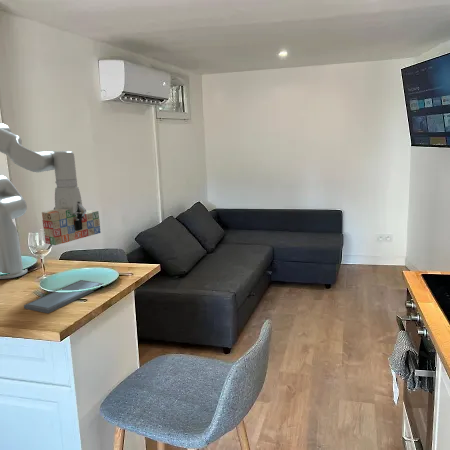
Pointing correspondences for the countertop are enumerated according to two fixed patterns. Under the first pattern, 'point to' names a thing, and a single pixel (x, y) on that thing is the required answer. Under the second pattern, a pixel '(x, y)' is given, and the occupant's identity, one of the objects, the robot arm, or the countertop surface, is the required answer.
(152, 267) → the countertop surface
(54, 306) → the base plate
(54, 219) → the stack of blocks
